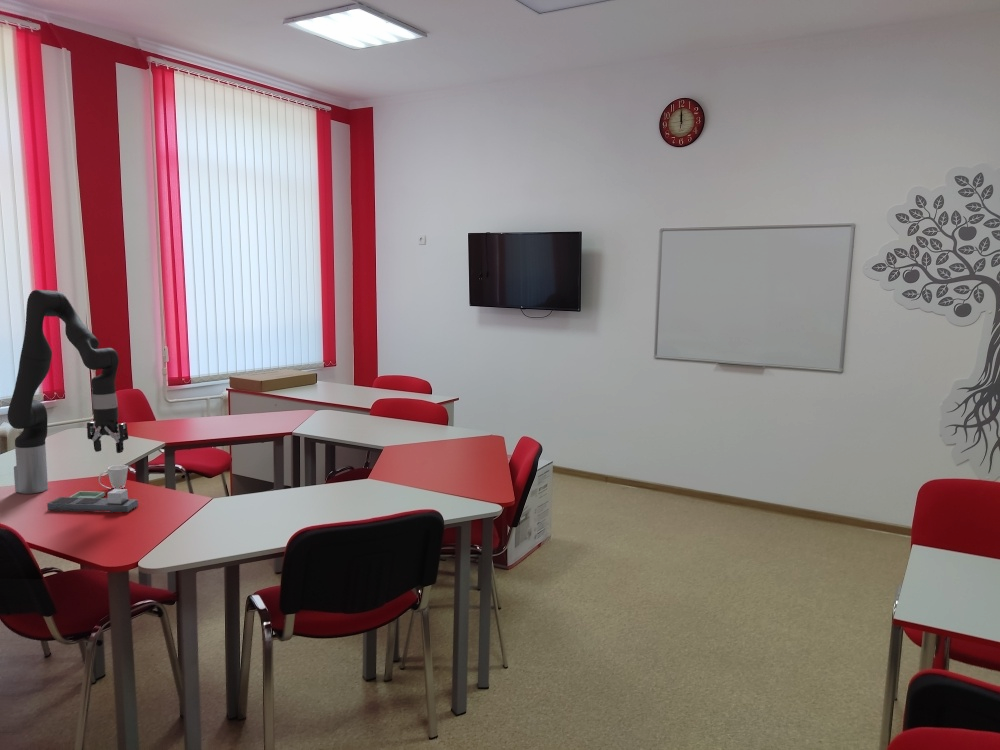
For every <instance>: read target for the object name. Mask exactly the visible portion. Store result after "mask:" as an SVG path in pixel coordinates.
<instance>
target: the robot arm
mask: <svg viewBox="0 0 1000 750" xmlns="http://www.w3.org/2000/svg"><path fill="white" fill-rule="evenodd" d="M25 310H26V313H25V327H24V328H25V329H24V335H23V340H22V341H23V342H22V348H21V352H20V357H19V363H18V370H17V376H16V379H15V384H14V390H13V392H12V396H11V400H10V402H9V406H8V409H7V421H8V424H9V425H10V426H11V427H12V428H13V429H16V430H22V431H21V432H20V433H19V435H18V436H16V438H15V439H14V449H15V450H14V451H15V463H16V465H15V466H14V467H13V477H14V478H13V479H14V492H15V493H19V494H22V495H23V494H24V495H28V494H30V495H31V494H38V493H42V492H45V491H47V490H48V489H49V483H48V482H49V481H48V466H47V465H48V464H47V463H48V461H47V449H46V448H47V447H46V438H47V437H48V411H47V408H46V406H45V404H43V403H42V401H39V400H34V397H35V394H36V392H37V390H38V388H39V387H40V386H41V384H42V383H43V381H44V380H45V379H46V377H47V375H48V374H49V371H50V367H51V364H52V358H53V351H52V347H51V345H50V344H49V342H48V339H47V338H46V336H45V333H44V320H45V317H52V318H54V317H57V318H59V319H60V320H61V321H63V322H64V324H65V328H64V329H65V330H64V331H65V332H64V333H65V335H66V336H65V337H66V338H67V340H68V341H69V343H71V344H72V345H73V346H74V348H75V349H76V350H77V351H78V354H79V356H80V358H81V360H82V363H83V366H85V367H86V368H87V369H89V370H91V371H98V370H101V372H100V374H99V375H97V376H94V377H92V379H91V393H92V395H91V396H92V397H91V398H92V399H91V401H92V402H91V403H92V405H91V406H92V413H93V415H92V417H93V421H89V422H87V423H86V429H87V430H86V432H87V433H86V435H87V439H88V440H91V441H92V442H93V449H94V452H96V453H98V452H99V453H100V452H101V451H102V440H101V439H102V436H108V437H109V436H110V437H111V438H112V439H113V440H114V441H115V448H116V449H115V450H116V453H117V454H120V453H123V451H124V442H125V441H126V440H129V432H128V431H129V430H128V426H127V422H123V423H119V421H118V420H119V406H118V404H119V403H118V397H117V392H116V377H117V372H118V368H119V363H120V358H119V355H118V352H117V351H116V350H115V349H114V348H112V347H103V348H99V346H100V341H99V339H98V338H97V337H96V336H95V334H93V333H92V332H91V330H90V329H89V328H87V326H86V325H85V324H84V323H83V321H82V320H81V318H80V316H79V315H78V313H77V311H76V310H75V308H74V307H73V306H72V303H71V302H70V301H69V299H68V297H67V296H66V295H65V294H64V293H63V292H61V291H58V290H50V289H49V290H47V289H34V290H32V291H31V292H30V293H29V295H28V298H27V301H26V309H25Z"/></svg>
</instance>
